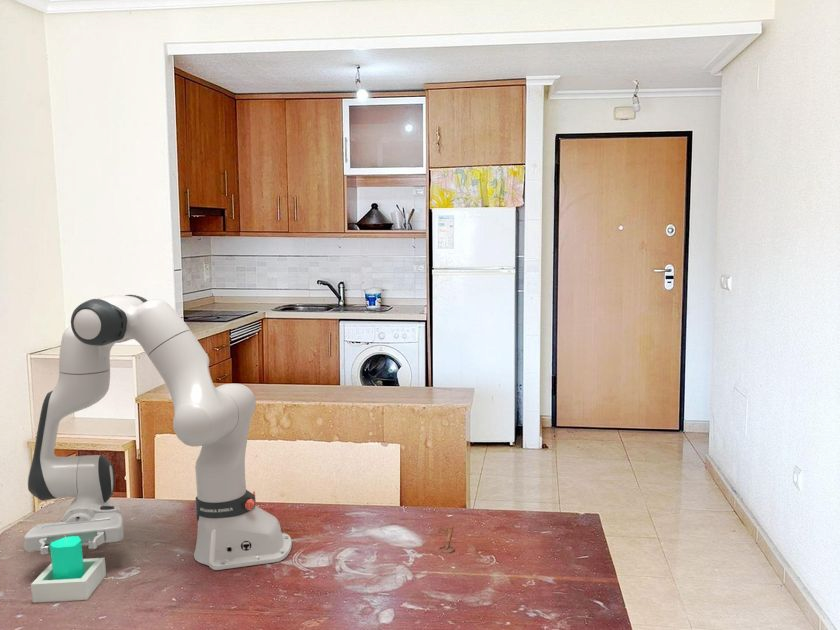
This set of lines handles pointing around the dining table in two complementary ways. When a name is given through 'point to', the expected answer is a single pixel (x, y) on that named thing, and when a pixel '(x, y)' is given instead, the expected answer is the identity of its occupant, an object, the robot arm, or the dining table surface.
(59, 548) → the candle
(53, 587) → the frame
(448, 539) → the key
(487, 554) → the dining table surface
